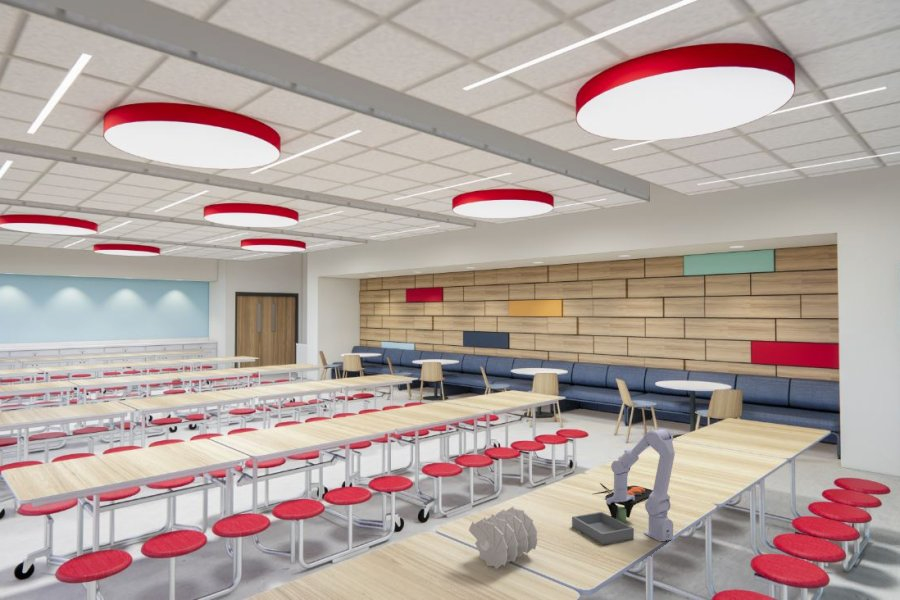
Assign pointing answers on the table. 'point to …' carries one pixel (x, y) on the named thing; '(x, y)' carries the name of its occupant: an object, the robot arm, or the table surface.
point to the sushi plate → (632, 492)
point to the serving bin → (602, 528)
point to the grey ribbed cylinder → (504, 536)
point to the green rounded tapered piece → (621, 514)
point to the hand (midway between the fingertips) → (620, 518)
